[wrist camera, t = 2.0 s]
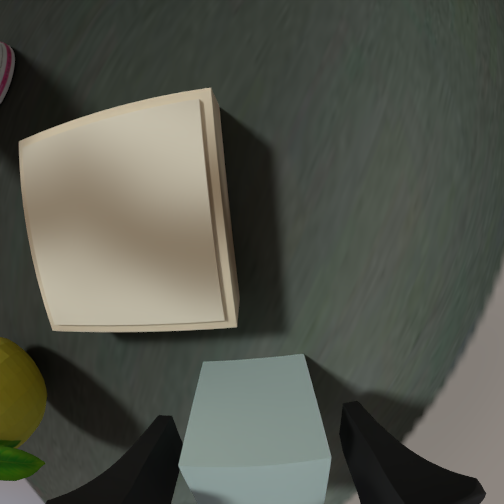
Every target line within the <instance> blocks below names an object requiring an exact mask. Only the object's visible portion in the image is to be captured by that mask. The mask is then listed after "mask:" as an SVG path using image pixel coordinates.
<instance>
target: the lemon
mask: <svg viewBox="0 0 504 504" xmlns="http://www.w3.org/2000/svg"><path fill="white" fill-rule="evenodd" d="M46 399H47V391H46V386H45V382H44V379H43V377H42V375H41V373H40V371H39V369H38V367H37V366H36V364H35V362H34V361H33V360H32V358H31V357H30V356H29V355H28V354H27V353H26V352H25V351H24V350H23V349H22V348H20V347H19V346H18V345H17V344H16V343H14V342H12V341H10V340H8V339H6V338H2V337H0V480H4V481H17V480H20V479H23V478H26V477H29V476H31V475H33V474H34V473H35V472H37V471H38V470H39V469H40V468H41V467H42V466H43V465H44V464H45V462H44V461H42V460H40V459H39V458H37V457H36V456H34V455H32V454H30V453H27V452H25V451H23V450H19V449H16V448H18V447H19V446H21V445H22V444H23V443H24V442H25V441H26V440H27V439H28V438H29V437H30V436H31V435H32V433H33V432H34V431H35V430H36V428H37V427H38V426H39V424H40V422H41V420H42V418H43V415H44V412H45V406H46Z"/></svg>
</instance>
